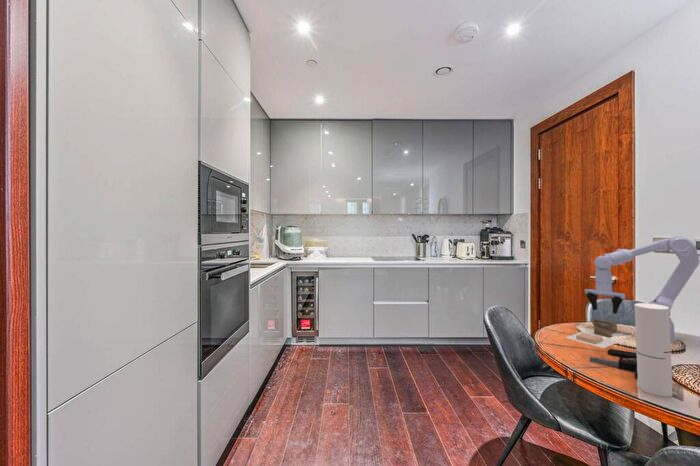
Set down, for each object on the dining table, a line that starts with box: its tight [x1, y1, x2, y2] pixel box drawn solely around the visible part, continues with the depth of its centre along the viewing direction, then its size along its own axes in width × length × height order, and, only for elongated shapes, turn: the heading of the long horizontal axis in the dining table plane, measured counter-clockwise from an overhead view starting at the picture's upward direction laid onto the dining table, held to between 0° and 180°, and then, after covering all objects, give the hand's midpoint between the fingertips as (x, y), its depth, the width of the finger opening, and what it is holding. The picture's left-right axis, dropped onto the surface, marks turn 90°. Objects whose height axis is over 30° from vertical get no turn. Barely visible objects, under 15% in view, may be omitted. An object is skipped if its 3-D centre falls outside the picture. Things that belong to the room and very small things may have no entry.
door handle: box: [589, 348, 638, 379], centre depth 104 cm, size 3×20×16 cm
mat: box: [564, 327, 633, 349], centre depth 129 cm, size 25×14×1 cm, turn 116°
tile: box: [576, 333, 603, 344], centre depth 125 cm, size 2×7×6 cm
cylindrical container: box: [634, 302, 674, 398], centre depth 87 cm, size 7×7×25 cm
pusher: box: [591, 318, 618, 338], centre depth 132 cm, size 11×6×6 cm, turn 116°
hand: (604, 311), depth 135 cm, fingers open, 7 cm apart
